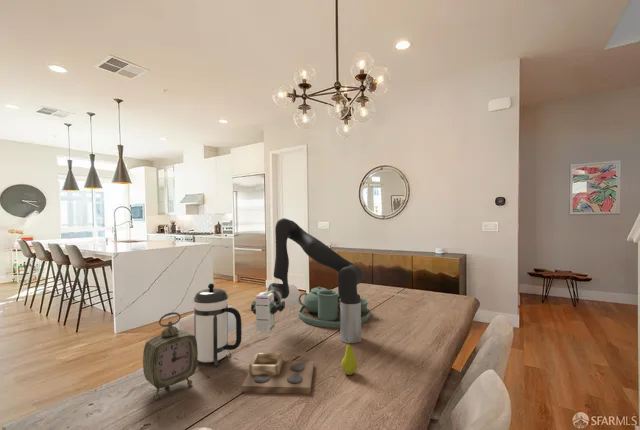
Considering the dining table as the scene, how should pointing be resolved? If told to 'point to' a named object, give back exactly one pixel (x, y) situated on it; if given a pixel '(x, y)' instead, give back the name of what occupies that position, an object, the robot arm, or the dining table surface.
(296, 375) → the wooden board with discs
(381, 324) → the dining table surface
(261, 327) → the syrup box
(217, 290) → the coffee press
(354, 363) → the fruit
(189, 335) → the tabletop clock
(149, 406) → the dining table surface
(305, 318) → the tea set
